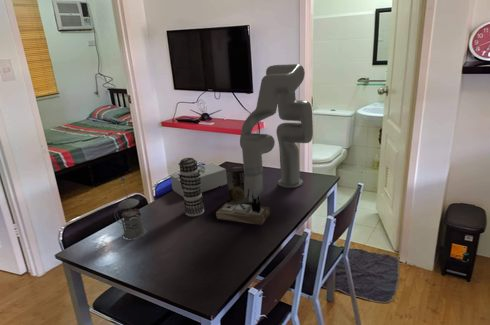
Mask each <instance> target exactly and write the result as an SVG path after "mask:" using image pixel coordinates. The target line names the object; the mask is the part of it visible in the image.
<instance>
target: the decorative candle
mask: <svg viewBox="0 0 490 325" xmlns="http://www.w3.org/2000/svg"><path fill="white" fill-rule="evenodd" d="M178 166H179V173H180V174H181V175H180V174H179V176H180V178H179V179H180V182H181V186H182V188H181V189H182V190H183V193H184V197H183V205H184V206H183V207H184V211H185V215H186V216H188V217H197V216H201V215H202V214H204V212H205V206H204V197H203V193H201V189H200V188H201V185H200V184H201V181H200V180H201V178H200V177H199V176H200V175H201V174H200V170H198V167H199V166H198V161H197V160H196V159H195V158H193V157H185V158H183V159H181V160H180V161H179V163H178ZM181 177H182V178H181Z"/></svg>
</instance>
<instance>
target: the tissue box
mask: <svg viewBox="0 0 490 325" xmlns="http://www.w3.org/2000/svg"><path fill="white" fill-rule="evenodd" d="M197 167H198V170H200V174H201V175H200V176H199V177H200V178H201V180H200V181H201V184H200V185H201V188H200V189H201V194H203V193H204V192H208V191H210V190H214V189H216V188H219V186H220V187H223V186H225V185H228V180H227V173H226V172H227V169H226V168H225V167H222V166H219V165H217V164H215V163H213V162H211V163H207V164H204V165H203V164H199V165H198V166H197ZM179 174H180V172H176V173H173V174H170V180H171V186H172V191H174V192H175V193H176V194H178V195H179V196H181V197H182V198H184V193H183V190H182V189H181V188H182V186H181V182H180V179H179V178H180V176H179ZM180 175H181V174H180ZM181 178H182V177H181Z"/></svg>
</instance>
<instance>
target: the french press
mask: <svg viewBox="0 0 490 325" xmlns="http://www.w3.org/2000/svg"><path fill="white" fill-rule="evenodd" d="M126 180H127V178H126V177H125V176H122V177H121V178H120V181H121V182H123V184H124V189H125V194H126V199H123V200H122V201H121V202H119V203H118V204H117V208H115V210H114V212H113V213H114V218H115V220H116V222H117V223H119V224H121V225H122V229H123V232H124V233H123V235H122V237H123V236H124V237H125V238H128V239H134V238H138V237H141V236H143V235H144V234H145V233H146V232H147V233H148V230H147V229H145V227H144V222H143V217H142V213H141V212H140V209H139V208H135V207H137V206H138V205H139V203H140V200H138V199H136V198H128V194H127V192H128V191H127V188H126V183H125V181H126ZM118 210H119V211H122V210H124V211H122V212H121V214H120V215H121V218H120V216H119V214H118V213H116V212H117V211H118ZM116 216H117V217H116ZM117 218H118V219H119V220H118V219H117ZM146 230H147V231H146ZM147 233H146V234H147ZM143 237H144V236H143Z"/></svg>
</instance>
